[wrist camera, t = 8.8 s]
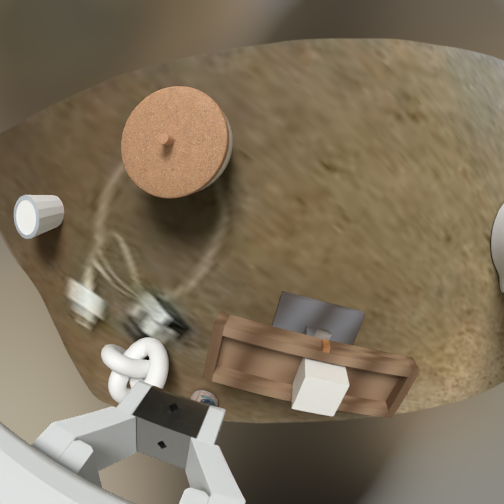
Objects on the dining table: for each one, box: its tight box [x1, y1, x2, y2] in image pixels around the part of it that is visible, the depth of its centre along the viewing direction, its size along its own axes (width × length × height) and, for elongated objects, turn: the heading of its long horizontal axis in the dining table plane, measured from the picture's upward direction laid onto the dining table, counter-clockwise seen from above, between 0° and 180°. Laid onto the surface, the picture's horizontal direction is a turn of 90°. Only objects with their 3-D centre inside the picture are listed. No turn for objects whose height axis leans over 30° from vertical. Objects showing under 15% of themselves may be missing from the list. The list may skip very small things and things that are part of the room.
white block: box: [292, 357, 350, 416], centre depth 33 cm, size 5×5×5 cm
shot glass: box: [14, 195, 64, 239], centre depth 42 cm, size 7×7×7 cm
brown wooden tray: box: [203, 291, 420, 418], centre depth 39 cm, size 25×12×10 cm, turn 76°
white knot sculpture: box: [101, 337, 169, 403], centre depth 44 cm, size 11×12×9 cm
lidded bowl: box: [121, 86, 233, 199], centre depth 34 cm, size 13×13×11 cm
